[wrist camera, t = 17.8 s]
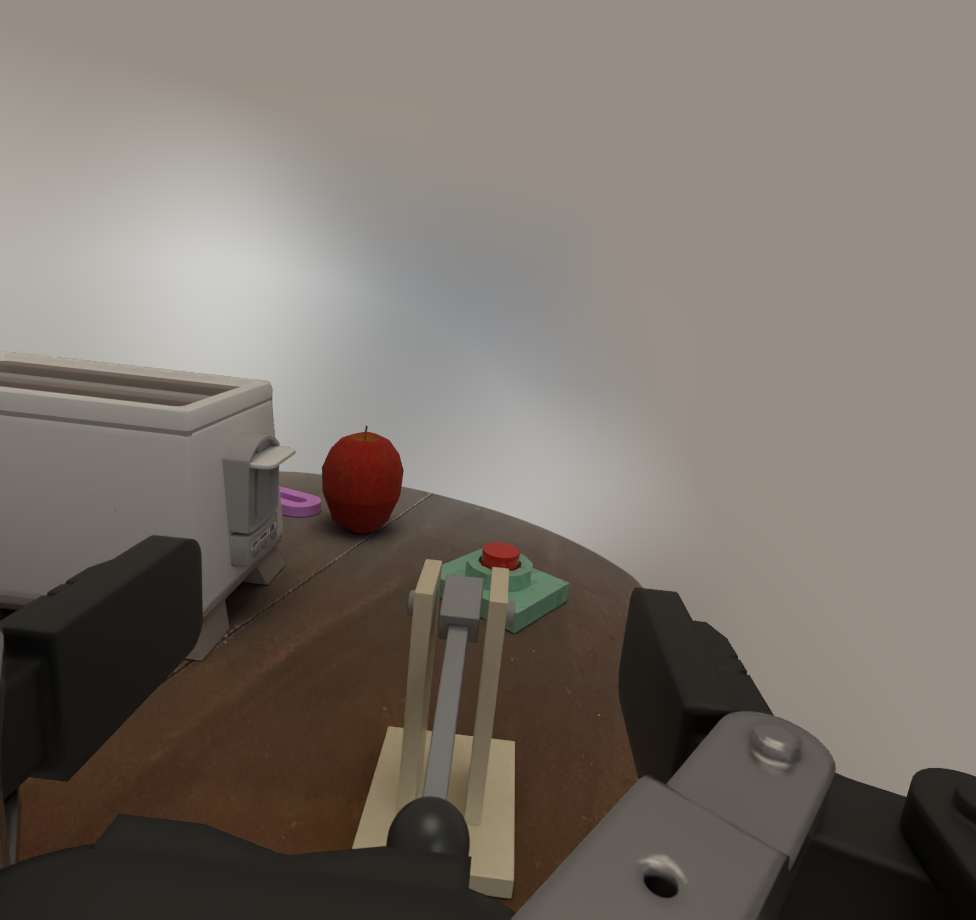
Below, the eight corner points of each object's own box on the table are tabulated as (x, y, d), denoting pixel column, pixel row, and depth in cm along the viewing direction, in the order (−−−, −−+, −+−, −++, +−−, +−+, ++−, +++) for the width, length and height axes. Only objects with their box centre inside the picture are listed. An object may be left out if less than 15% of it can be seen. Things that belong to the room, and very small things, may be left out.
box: (567, 601, 69) (572, 567, 68) (514, 633, 61) (519, 596, 60) (481, 564, 76) (484, 533, 75) (423, 590, 68) (426, 555, 67)
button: (525, 566, 68) (527, 551, 68) (503, 576, 65) (505, 561, 64) (495, 554, 70) (497, 539, 70) (473, 563, 67) (475, 548, 67)
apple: (330, 511, 88) (334, 413, 84) (403, 518, 88) (410, 421, 84) (310, 540, 78) (314, 430, 74) (393, 548, 78) (400, 438, 74)
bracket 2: (511, 899, 34) (548, 640, 30) (347, 878, 34) (362, 618, 30) (512, 756, 45) (540, 550, 41) (387, 741, 45) (402, 534, 41)
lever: (462, 908, 27) (467, 885, 25) (380, 898, 27) (375, 874, 25) (492, 609, 38) (497, 573, 36) (433, 602, 38) (434, 565, 36)
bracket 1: (227, 498, 89) (227, 450, 87) (257, 489, 93) (257, 443, 92) (302, 519, 84) (303, 469, 82) (328, 508, 89) (330, 461, 87)
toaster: (239, 665, 52) (240, 420, 47) (-168, 616, 53) (-213, 368, 47) (313, 567, 70) (320, 384, 65) (11, 532, 71) (-6, 348, 66)
